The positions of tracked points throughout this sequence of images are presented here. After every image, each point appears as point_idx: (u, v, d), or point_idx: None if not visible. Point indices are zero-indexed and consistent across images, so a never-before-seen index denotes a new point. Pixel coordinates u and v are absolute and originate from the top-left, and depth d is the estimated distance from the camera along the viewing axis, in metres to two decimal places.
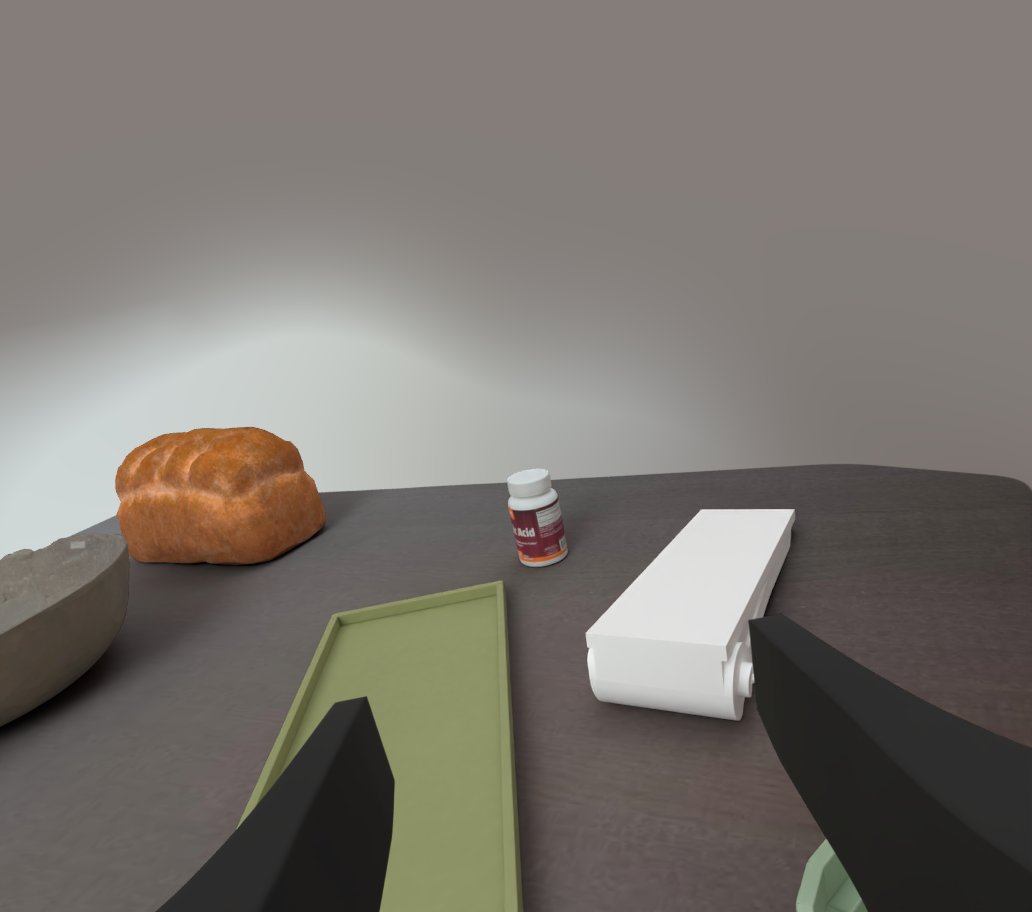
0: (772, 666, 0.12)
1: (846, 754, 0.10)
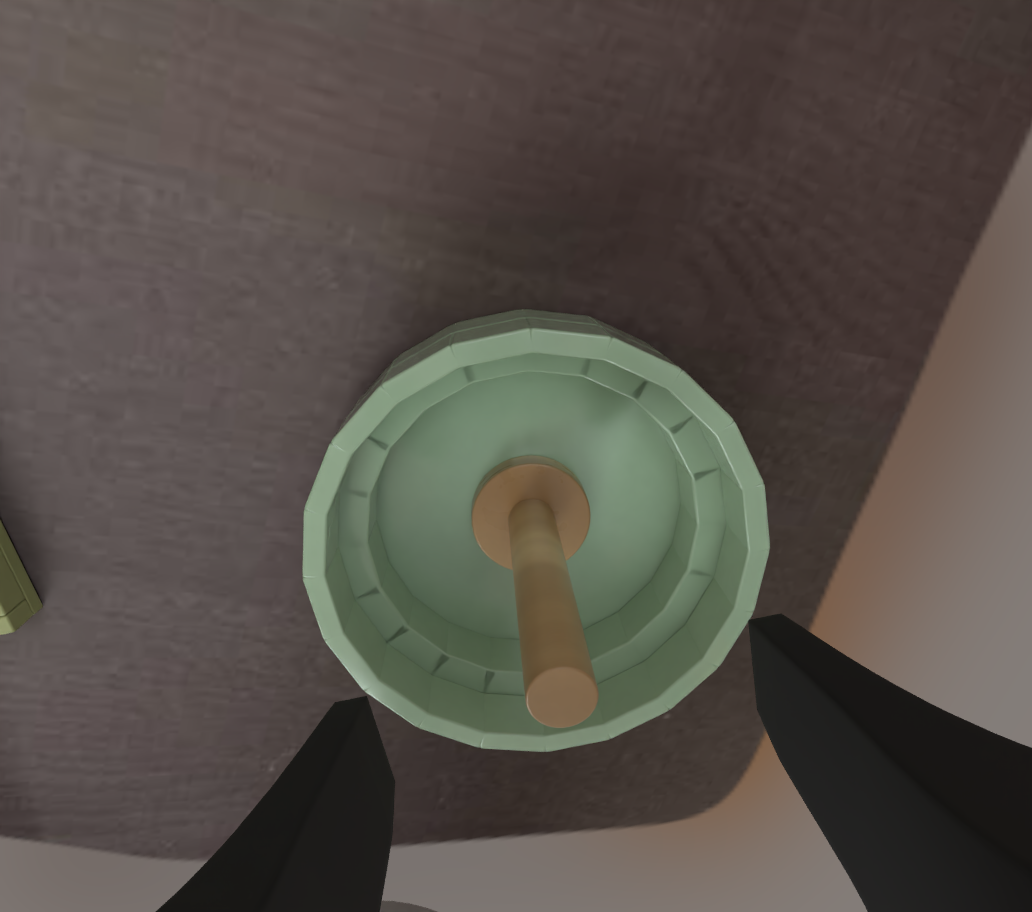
0: (772, 666, 0.12)
1: (846, 754, 0.10)
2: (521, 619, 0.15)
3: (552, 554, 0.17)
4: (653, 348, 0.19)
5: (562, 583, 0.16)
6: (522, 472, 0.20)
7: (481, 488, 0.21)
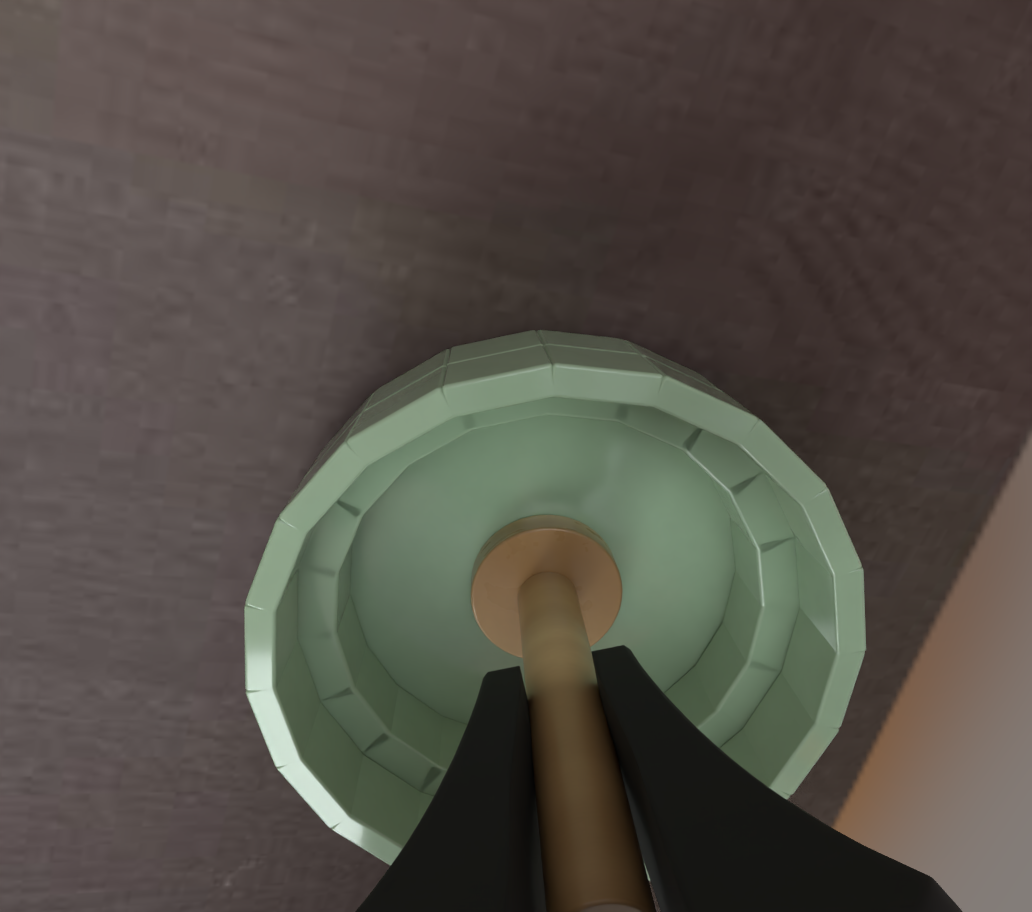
0: (603, 700, 0.12)
1: (640, 794, 0.10)
2: (540, 782, 0.11)
3: (580, 667, 0.13)
4: (710, 383, 0.14)
5: (595, 720, 0.12)
6: (536, 539, 0.16)
7: (483, 558, 0.16)
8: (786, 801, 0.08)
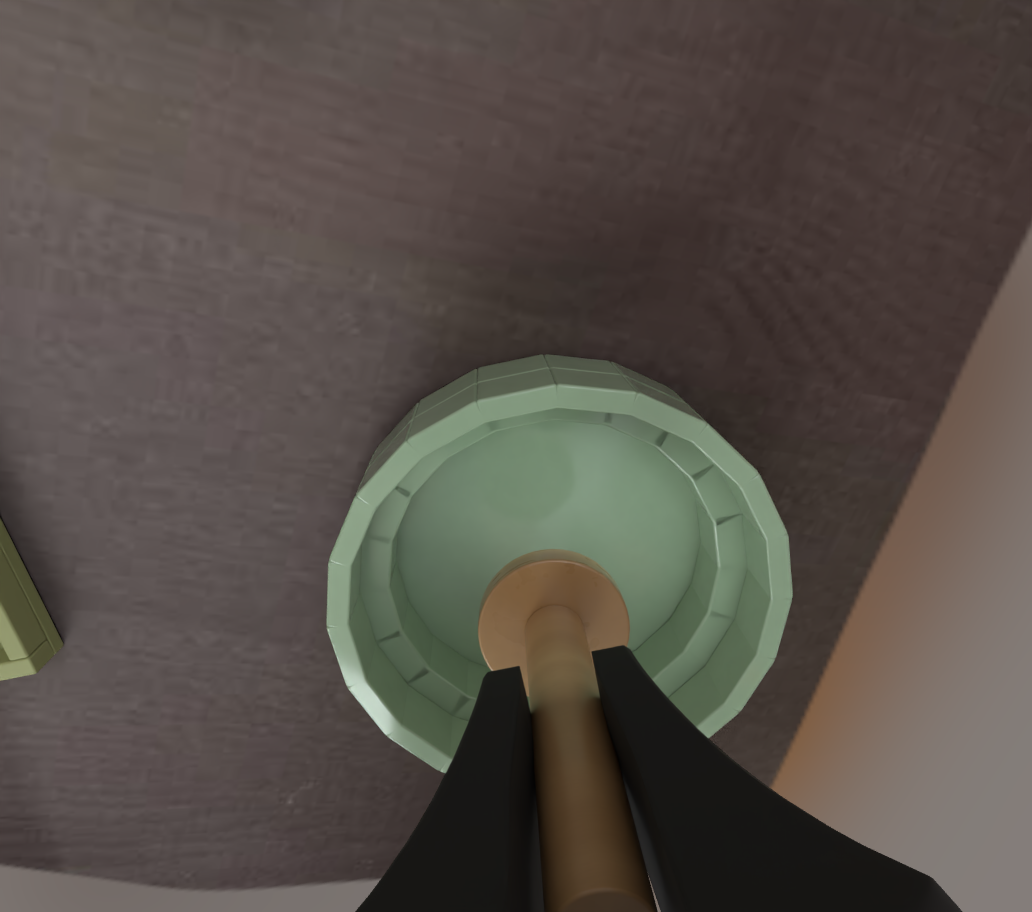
0: (603, 700, 0.12)
1: (640, 794, 0.10)
2: (541, 787, 0.11)
3: (586, 687, 0.13)
4: (676, 395, 0.19)
5: (599, 732, 0.11)
6: (546, 570, 0.16)
7: (493, 587, 0.16)
8: (786, 801, 0.08)
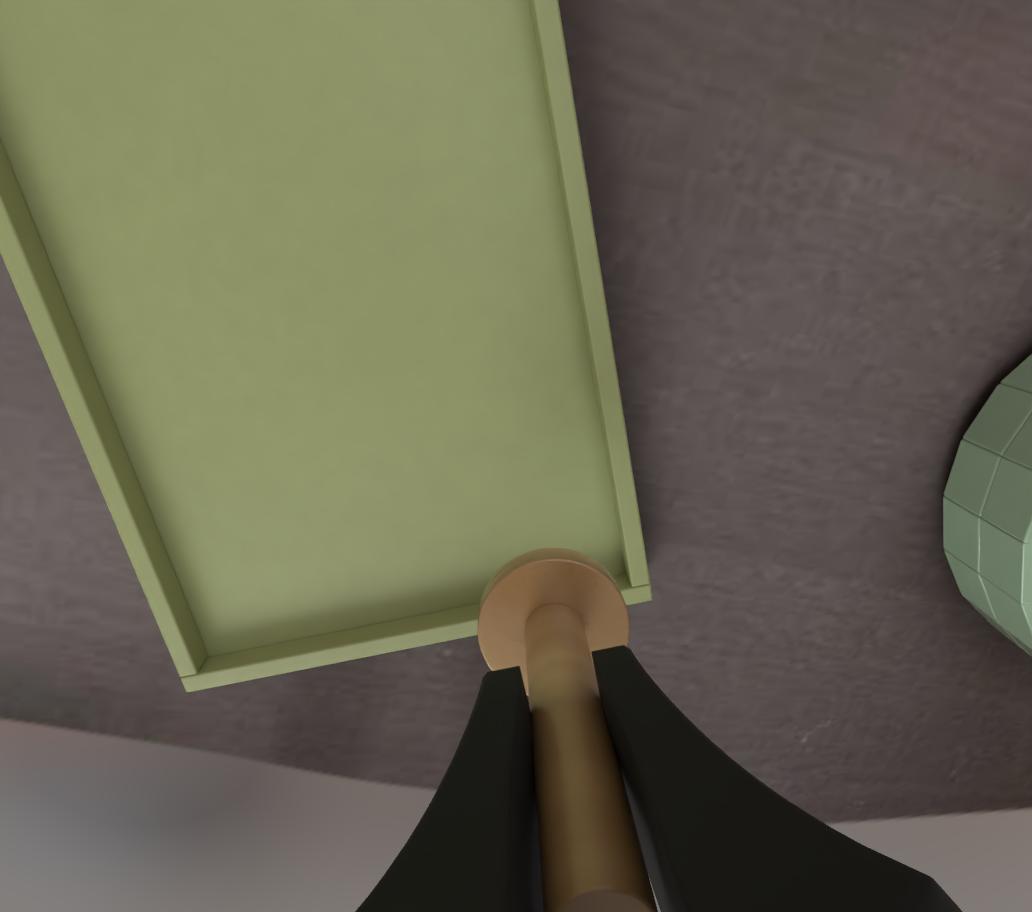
0: (603, 699, 0.12)
1: (640, 794, 0.10)
2: (541, 786, 0.11)
3: (586, 686, 0.13)
4: None
5: (599, 731, 0.11)
6: (546, 569, 0.16)
7: (493, 586, 0.16)
8: (786, 801, 0.08)
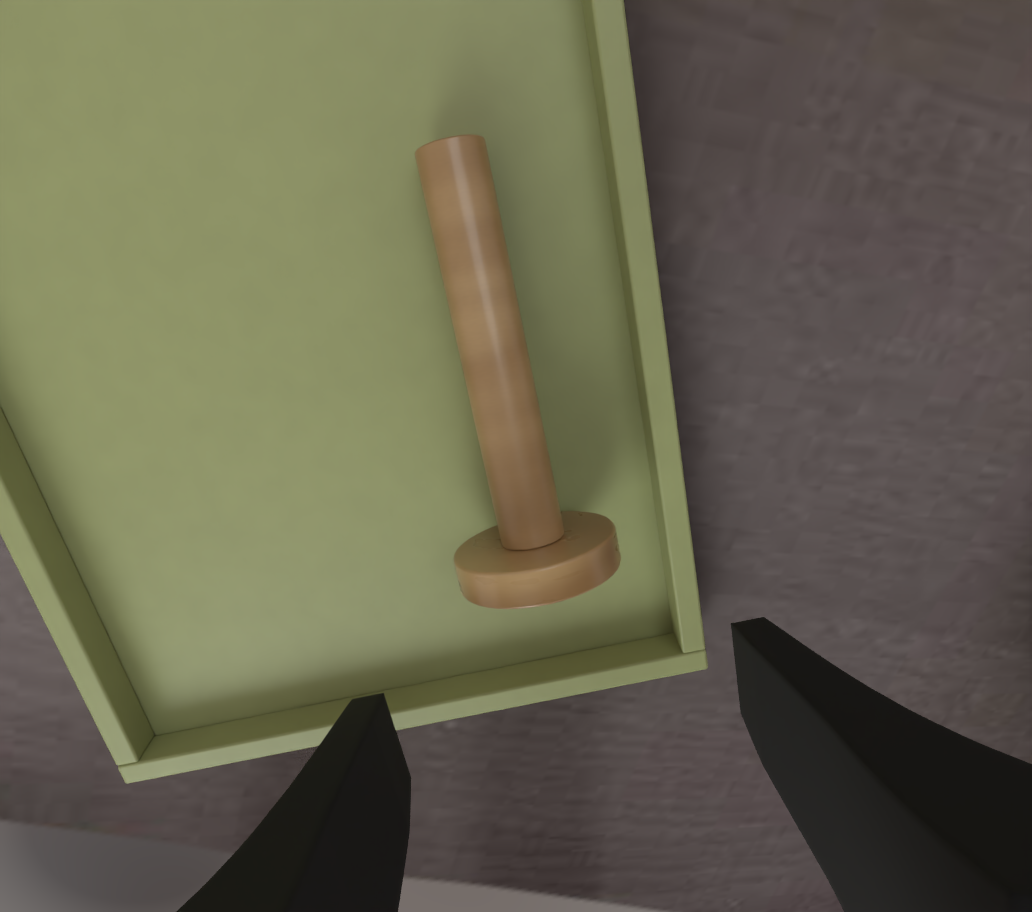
0: (753, 670, 0.12)
1: (823, 758, 0.10)
2: None
3: None
4: None
5: None
6: None
7: None
8: (1012, 757, 0.08)
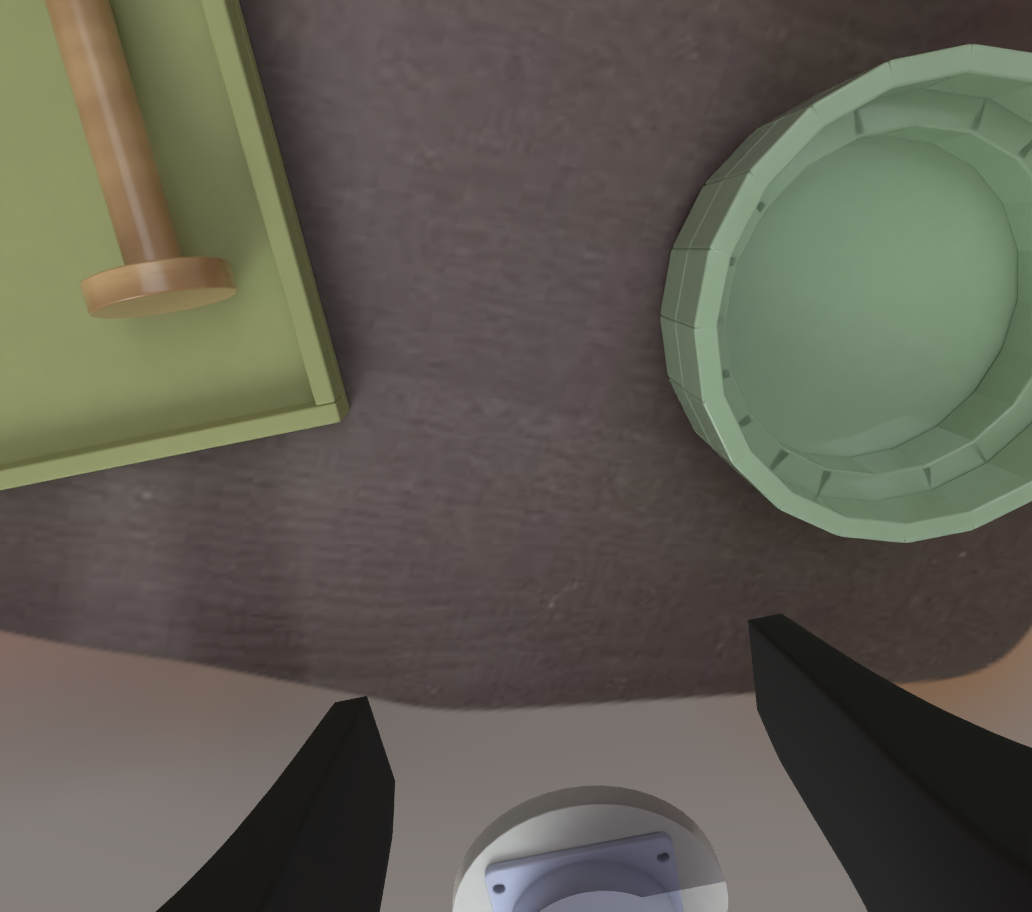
0: (772, 666, 0.12)
1: (846, 754, 0.10)
2: None
3: None
4: None
5: None
6: None
7: None
8: None
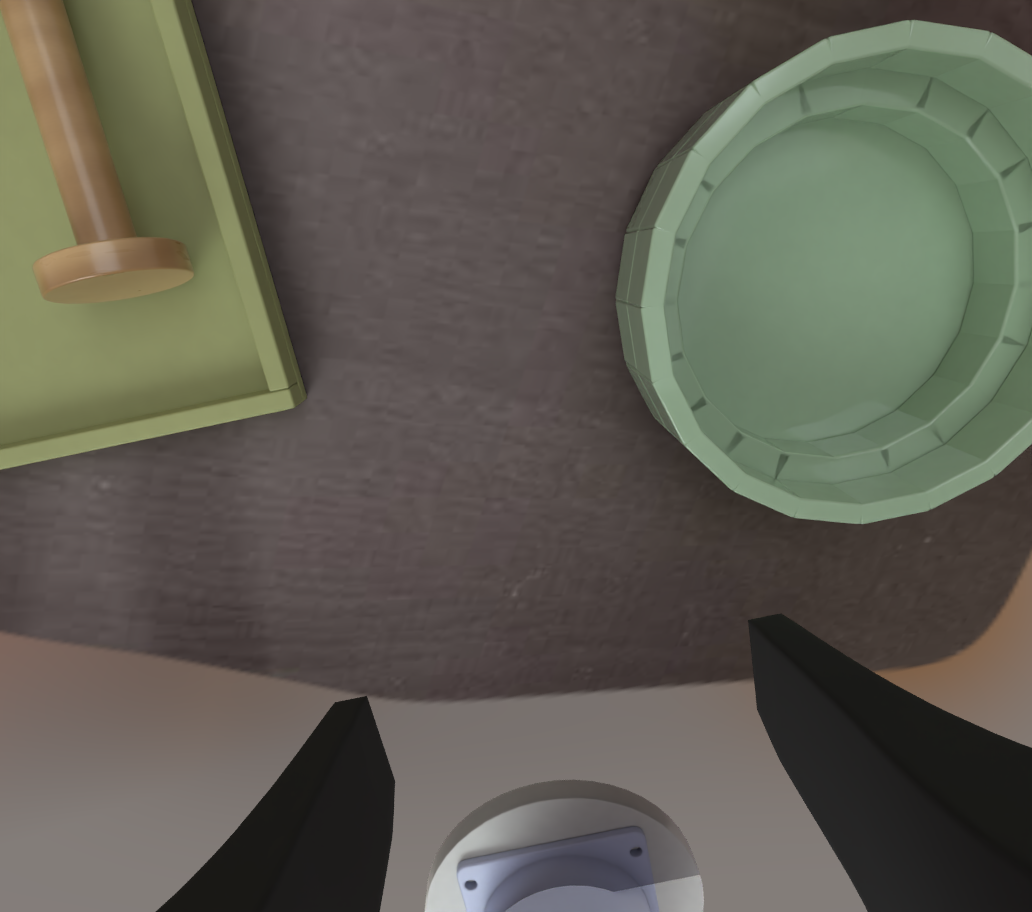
0: (772, 666, 0.12)
1: (846, 754, 0.10)
2: None
3: None
4: None
5: None
6: None
7: None
8: None
